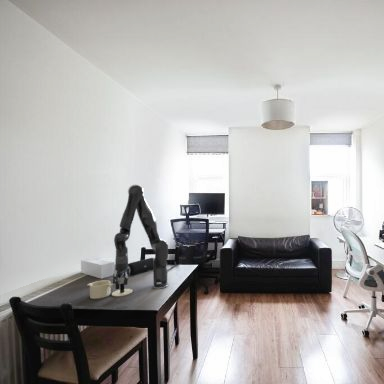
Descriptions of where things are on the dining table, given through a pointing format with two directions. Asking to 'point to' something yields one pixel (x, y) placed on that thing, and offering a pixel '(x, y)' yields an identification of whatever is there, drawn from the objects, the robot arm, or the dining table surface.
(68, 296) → the dining table surface
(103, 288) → the pot
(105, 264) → the white box
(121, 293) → the lid
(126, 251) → the robot arm
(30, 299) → the dining table surface
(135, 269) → the portable speaker
